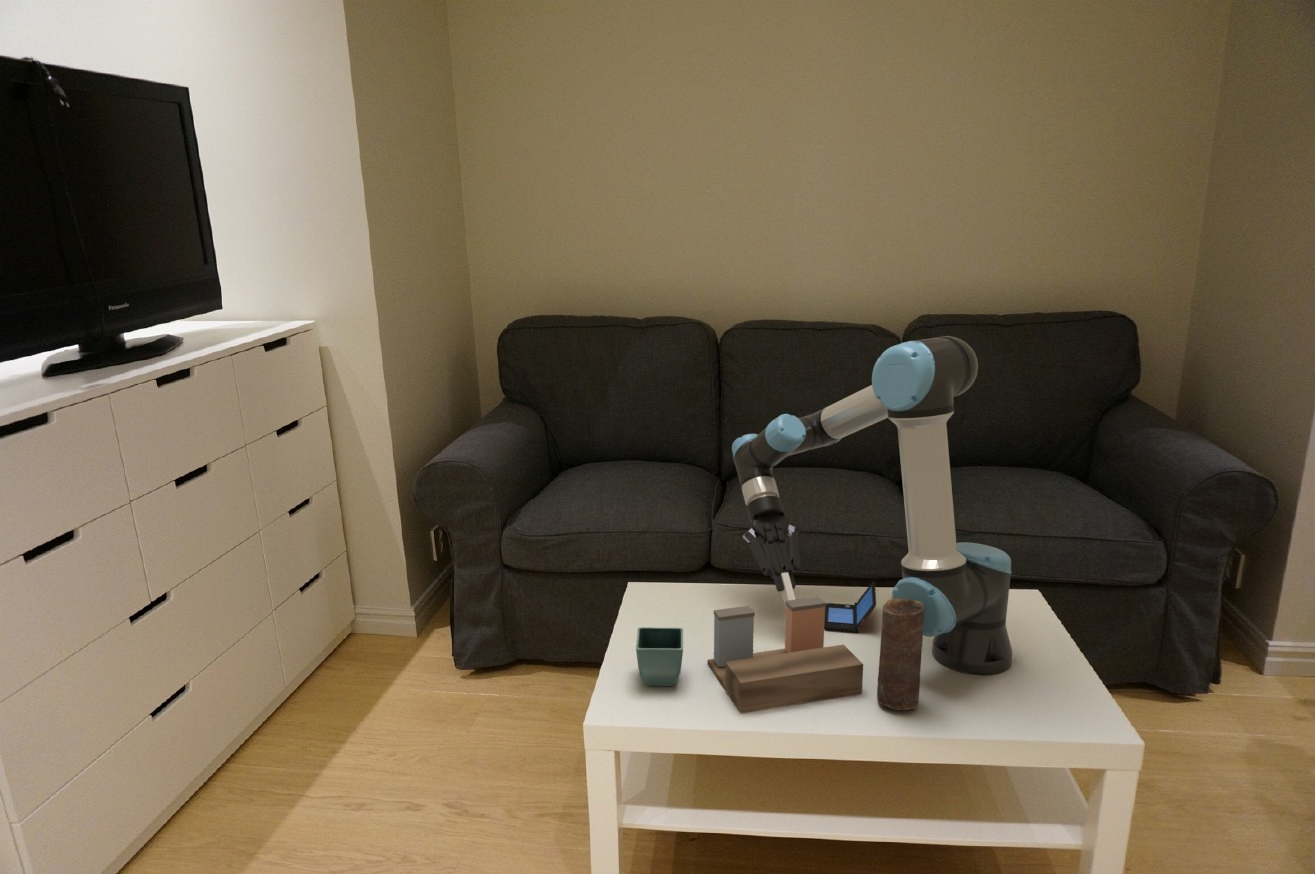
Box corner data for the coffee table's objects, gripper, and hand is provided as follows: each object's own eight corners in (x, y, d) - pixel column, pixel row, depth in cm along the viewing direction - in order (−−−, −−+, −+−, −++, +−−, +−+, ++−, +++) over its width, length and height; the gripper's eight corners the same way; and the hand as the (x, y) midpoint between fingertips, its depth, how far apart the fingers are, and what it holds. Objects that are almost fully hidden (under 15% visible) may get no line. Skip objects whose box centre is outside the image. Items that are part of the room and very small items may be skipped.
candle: (910, 720, 161) (917, 616, 156) (870, 708, 165) (875, 606, 160) (923, 701, 168) (930, 600, 163) (884, 690, 172) (890, 591, 166)
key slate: (713, 659, 181) (713, 610, 178) (747, 654, 182) (748, 605, 180) (718, 667, 178) (719, 617, 175) (753, 662, 179) (754, 612, 177)
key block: (707, 664, 182) (707, 636, 180) (819, 648, 188) (820, 621, 186) (740, 713, 164) (740, 683, 163) (861, 693, 170) (863, 664, 169)
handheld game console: (824, 607, 207) (825, 576, 205) (873, 611, 205) (875, 580, 203) (822, 632, 195) (823, 599, 193) (874, 636, 193) (876, 604, 191)
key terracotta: (784, 649, 184) (785, 600, 182) (817, 644, 186) (819, 596, 184) (790, 657, 181) (792, 607, 179) (823, 652, 183) (825, 603, 181)
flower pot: (683, 692, 171) (683, 648, 169) (636, 692, 172) (635, 648, 169) (683, 669, 180) (683, 627, 178) (638, 668, 180) (637, 627, 178)
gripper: (785, 506, 204) (814, 607, 193) (730, 512, 201) (756, 615, 189) (796, 491, 198) (826, 594, 186) (739, 496, 194) (766, 602, 183)
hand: (790, 604), depth 188 cm, fingers closed
